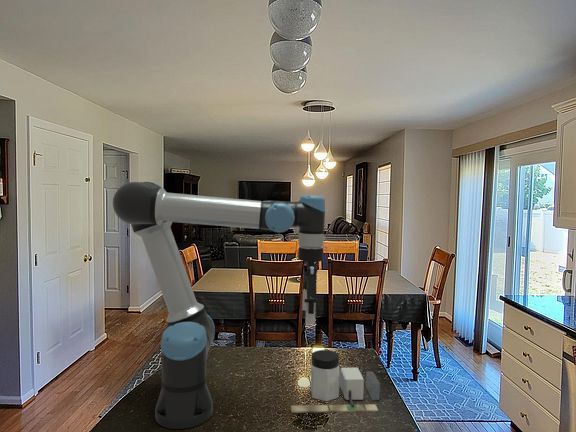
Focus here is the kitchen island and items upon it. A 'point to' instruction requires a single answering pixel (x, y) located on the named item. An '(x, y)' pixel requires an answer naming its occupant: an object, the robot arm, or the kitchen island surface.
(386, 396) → the kitchen island surface
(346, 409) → the strip
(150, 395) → the kitchen island surface
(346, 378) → the carriage
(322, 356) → the jar
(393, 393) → the kitchen island surface
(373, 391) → the two-tone gray brick
